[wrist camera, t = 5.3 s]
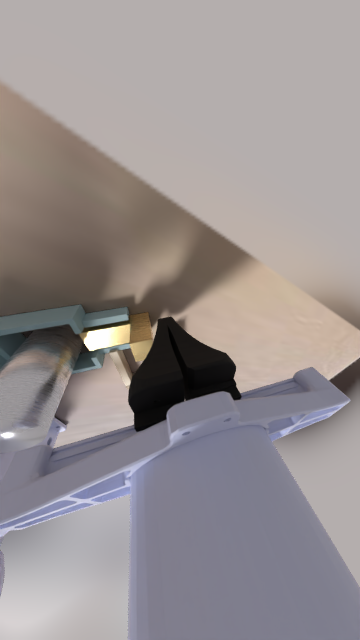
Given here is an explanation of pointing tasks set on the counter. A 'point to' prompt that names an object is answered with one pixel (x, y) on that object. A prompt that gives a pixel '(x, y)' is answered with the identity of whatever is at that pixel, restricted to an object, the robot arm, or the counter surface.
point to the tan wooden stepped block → (122, 335)
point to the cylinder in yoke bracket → (35, 385)
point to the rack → (122, 366)
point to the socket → (6, 336)
